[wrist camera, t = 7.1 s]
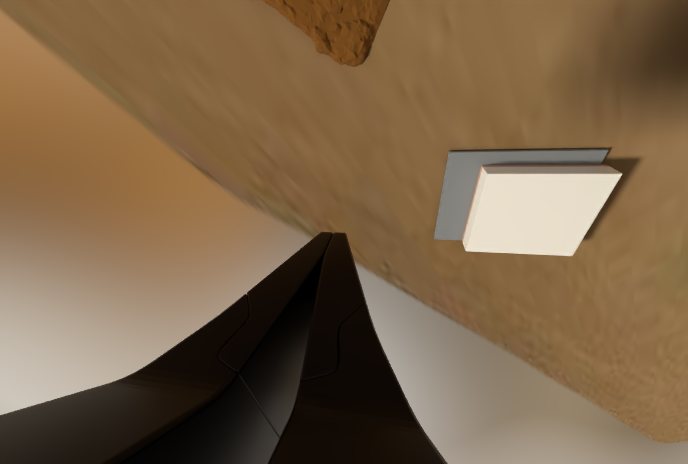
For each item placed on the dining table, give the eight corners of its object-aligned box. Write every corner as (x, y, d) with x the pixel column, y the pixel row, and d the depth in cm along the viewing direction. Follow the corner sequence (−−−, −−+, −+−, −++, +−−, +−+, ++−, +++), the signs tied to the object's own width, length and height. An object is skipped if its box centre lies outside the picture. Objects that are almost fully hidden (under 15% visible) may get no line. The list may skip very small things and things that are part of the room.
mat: (605, 148, 17) (608, 150, 17) (555, 241, 22) (557, 243, 22) (448, 150, 19) (449, 152, 19) (433, 237, 24) (434, 239, 23)
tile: (481, 165, 19) (607, 164, 18) (461, 240, 23) (562, 244, 22) (487, 173, 18) (622, 173, 16) (465, 251, 22) (572, 256, 20)
